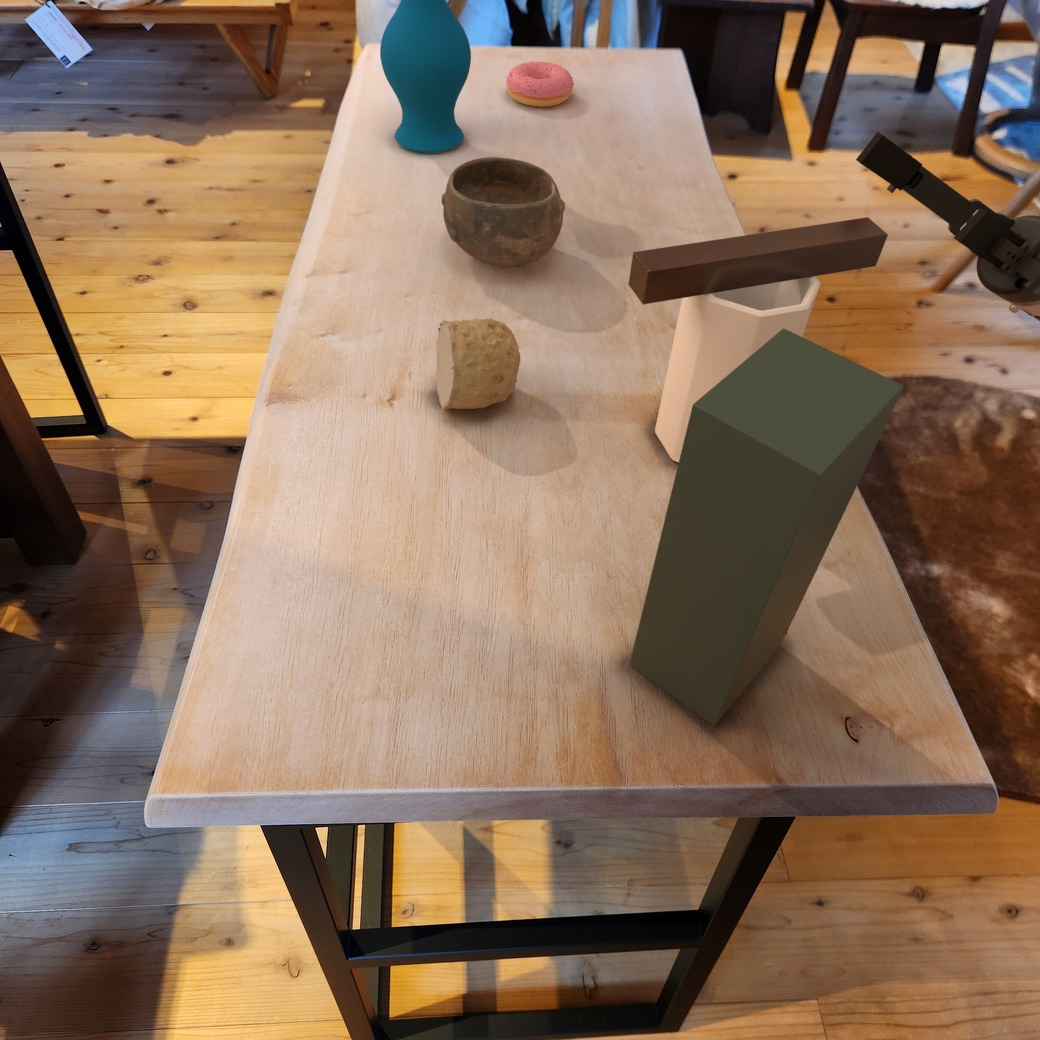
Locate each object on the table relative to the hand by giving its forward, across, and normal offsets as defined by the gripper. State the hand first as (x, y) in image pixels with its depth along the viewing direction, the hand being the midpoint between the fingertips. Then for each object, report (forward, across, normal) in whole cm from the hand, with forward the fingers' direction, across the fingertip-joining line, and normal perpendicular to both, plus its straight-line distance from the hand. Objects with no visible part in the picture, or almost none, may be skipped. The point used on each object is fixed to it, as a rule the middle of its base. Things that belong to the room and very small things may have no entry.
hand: (916, 183), depth 70 cm
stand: (+9, -23, -34) cm, 42 cm away
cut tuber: (+17, +12, -39) cm, 44 cm away
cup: (-1, 0, -28) cm, 28 cm away
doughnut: (-10, +82, -23) cm, 86 cm away
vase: (+8, +71, -34) cm, 79 cm away
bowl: (+8, +38, -34) cm, 51 cm away
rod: (+8, 0, -12) cm, 15 cm away
